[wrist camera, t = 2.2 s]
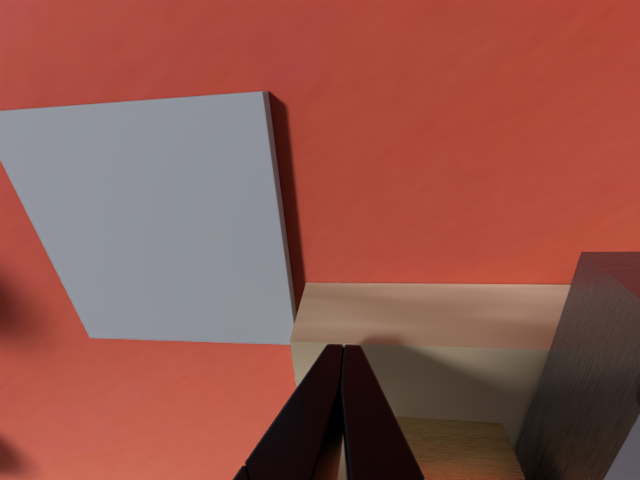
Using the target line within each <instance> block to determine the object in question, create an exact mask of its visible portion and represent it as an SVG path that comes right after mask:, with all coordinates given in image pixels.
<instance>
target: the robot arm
mask: <svg viewBox="0 0 640 480" xmlns="http://www.w3.org/2000/svg"><path fill="white" fill-rule="evenodd" d="M343 440H344V455H345V468H346V480H425V477H424V475H423V473H422V471H421V469H420V467H419V465H418V463H417V461H416V459H415V456H414V454H413V452H412V450H411V448H410V446H409V444H408V442H407V440H406V438H405V436H404V434H403V432H402V429H401V427H400V425H399V423H398V421H397V419H396V417H395V415H394V413H393V411H392V409H391V407H390V404H389V402H388V400H387V398H386V396H385V394H384V392H383V390H382V388H381V386H380V384H379V382H378V380H377V377H376V375H375V373H374V371H373V369H372V367H371V365H370V363H369V361H368V359H367V357H366V355H365V353H364V350H363V348H362V347H361V346H360V345H354V344H346V345H345V346H343V345H342V344H327V345H326V346H325V348H324V349H323V351H322V352H321V354H320V355H319V356H318V358H317V359H316V361H315V362H314V364H313V365H312V366H311V368H310V369H309V371H308V372H307V374H306V375H305V377H304V378H303V379H302V381H301V382H300V384H299V385H298V387H297V388H296V390H295V391H294V392H293V394H292V395H291V397H290V398H289V400H288V401H287V403H286V404H285V405H284V407H283V408H282V410H281V411H280V413H279V414H278V415H277V417H276V418H275V420H274V421H273V423H272V424H271V426H270V427H269V428H268V430H267V431H266V433H265V434H264V436H263V437H262V439H261V440H260V441H259V443H258V444H257V446H256V447H255V449H254V450H253V452H252V453H251V454H250V456H249V457H248V459H247V460H246V462H245V465H246V466H242V467H241V469H240V470H239V471H238V473H237V474H236V476H235V477H234V479H233V480H337V479H338V472H339V465H340V458H341V451H342V443H343Z"/></svg>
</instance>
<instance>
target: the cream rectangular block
mask: <svg viewBox="0 0 640 480" xmlns="http://www.w3.org/2000/svg"><path fill="white" fill-rule="evenodd" d="M570 286H571V285H544V284H413V283H306V284H305V288H304V291H303V295H302V299H301V302H300V306H299V310H298V313H297V317H296V320H295V324H294V328H293V331H292V335H291V339H290V347H291V354H292V360H293V367H294V374H295V381H296V388H297V387H298V385H299V384H300V382H301V381H302V379H303V378H304V377H305V375H306V374H307V372H308V371H309V369H310V368H311V366H312V365H313V364H314V362H315V361H316V359H317V358H318V356H319V355H320V354H321V352H322V351H323V349H324V348H325V346H326V345H327V344H342V345H343V346H345V345H346V344H354V345H360V346H361V347H362V348H363V350H364V353H365V355H366V357H367V359H368V361H369V363H370V365H371V367H372V369H373V371H374V373H375V375H376V377H377V380H378V382H379V384H380V386H381V388H382V390H383V392H384V394H385V396H386V398H387V400H388V402H389V404H390V407H391V409H392V411H393V413H394V415H395V416H397V417H413V418H429V419H445V420H461V421H478V422H494V423H503V425H504V427H505V430H506V432H507V435H508V437H509V440H510V442H511V445H512V447H513V450H514V452H515V455H516V452H517V449H518V446H519V443H520V440H521V437H522V433H523V430H524V427H525V424H526V421H527V418H528V415H529V412H530V409H531V406H532V403H533V400H534V397H535V394H536V390H537V387H538V384H539V381H540V378H541V375H542V372H543V369H544V366H545V363H546V360H547V357H548V354H549V350H550V347H551V344H552V341H553V338H554V335H555V332H556V329H557V326H558V323H559V320H560V317H561V314H562V310H563V307H564V304H565V301H566V298H567V295H568V292H569V289H570ZM337 480H346V468H345V455H344V440H343V443H342V451H341V458H340V465H339V472H338V479H337Z"/></svg>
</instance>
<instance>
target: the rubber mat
mask: <svg viewBox="0 0 640 480" xmlns="http://www.w3.org/2000/svg"><path fill="white" fill-rule="evenodd" d="M0 160H1V162H2V164H3V166H4V168H5V170H6V172H7V174H8V176H9V178H10V180H11V182H12V184H13V186H14V188H15V190H16V192H17V194H18V196H19V198H20V200H21V202H22V204H23V206H24V208H25V210H26V212H27V214H28V216H29V218H30V220H31V222H32V224H33V226H34V228H35V230H36V232H37V234H38V236H39V238H40V240H41V242H42V244H43V246H44V248H45V250H46V252H47V254H48V256H49V258H50V260H51V262H52V264H53V266H54V268H55V270H56V272H57V274H58V276H59V278H60V280H61V282H62V284H63V286H64V288H65V290H66V292H67V294H68V296H69V298H70V300H71V302H72V304H73V306H74V307H75V309H76V311H77V313H78V315H79V317H80V319H81V321H82V323H83V325H84V327H85V329H86V331H87V333H88V335H89V337H90V338H107V339H136V340H166V341H195V342H224V343H253V344H283V345H290V339H291V335H292V331H293V328H294V324H295V320H296V317H297V313H296V305H295V297H294V289H293V281H292V274H291V266H290V258H289V250H288V242H287V235H286V227H285V219H284V211H283V203H282V195H281V188H280V180H279V172H278V164H277V156H276V149H275V141H274V133H273V125H272V117H271V110H270V102H269V94H268V91H258V92H245V93H231V94H218V95H205V96H191V97H178V98H165V99H151V100H138V101H125V102H111V103H98V104H85V105H71V106H58V107H45V108H31V109H18V110H5V111H0Z"/></svg>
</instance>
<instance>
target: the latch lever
mask: <svg viewBox="0 0 640 480" xmlns="http://www.w3.org/2000/svg"><path fill="white" fill-rule="evenodd" d="M516 457H517V460H518V462H519V465H520V467H521V470H522V472H523V475H524V477H525V479H526V480H640V252H581V255H580V258H579V261H578V264H577V267H576V270H575V274H574V277H573V280H572V283H571V286H570V289H569V292H568V295H567V298H566V301H565V304H564V307H563V310H562V314H561V317H560V320H559V323H558V326H557V329H556V332H555V335H554V338H553V341H552V344H551V347H550V350H549V354H548V357H547V360H546V363H545V366H544V369H543V372H542V375H541V378H540V381H539V384H538V387H537V390H536V394H535V397H534V400H533V403H532V406H531V409H530V412H529V415H528V418H527V421H526V424H525V427H524V430H523V433H522V437H521V440H520V443H519V446H518V449H517V452H516Z"/></svg>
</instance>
